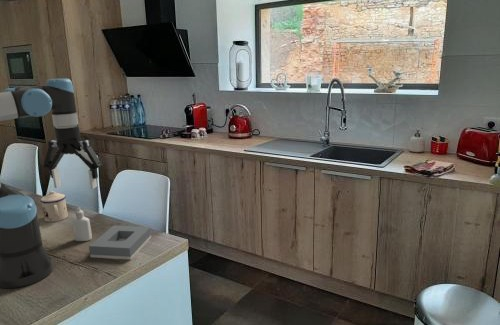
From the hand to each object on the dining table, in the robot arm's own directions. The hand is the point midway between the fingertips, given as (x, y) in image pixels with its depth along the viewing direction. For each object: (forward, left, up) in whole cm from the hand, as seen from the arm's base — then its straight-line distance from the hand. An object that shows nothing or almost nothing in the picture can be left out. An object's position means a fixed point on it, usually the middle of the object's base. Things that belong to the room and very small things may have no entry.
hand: (76, 187), depth 133 cm
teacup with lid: (+16, +22, -20) cm, 34 cm away
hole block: (-4, -17, -20) cm, 26 cm away
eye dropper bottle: (0, 0, -20) cm, 20 cm away
